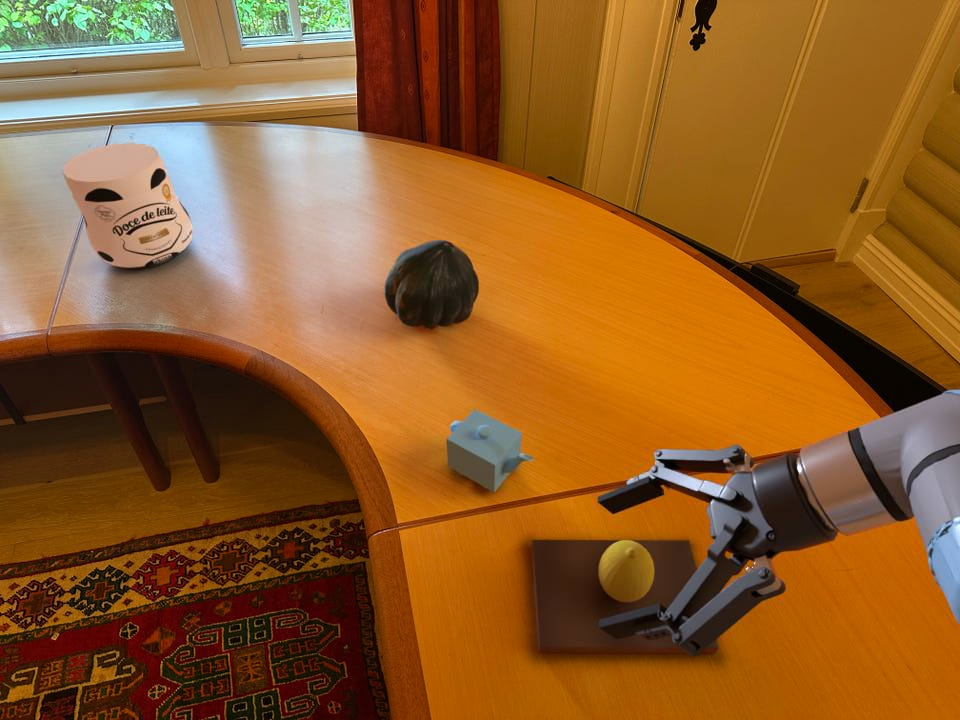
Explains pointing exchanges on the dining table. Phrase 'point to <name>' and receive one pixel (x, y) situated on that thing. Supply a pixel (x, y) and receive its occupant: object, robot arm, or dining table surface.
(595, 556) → the cutting board
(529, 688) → the dining table surface
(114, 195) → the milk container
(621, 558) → the lemon
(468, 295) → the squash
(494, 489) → the knobbed blue-grey cube
